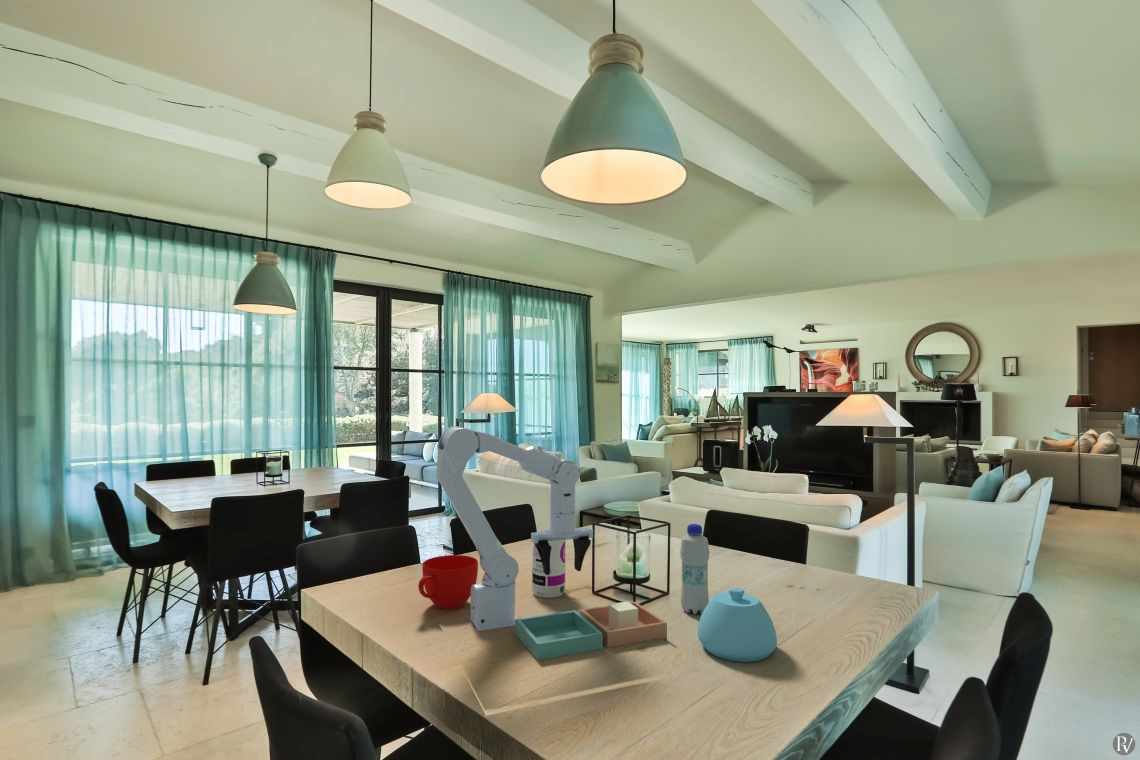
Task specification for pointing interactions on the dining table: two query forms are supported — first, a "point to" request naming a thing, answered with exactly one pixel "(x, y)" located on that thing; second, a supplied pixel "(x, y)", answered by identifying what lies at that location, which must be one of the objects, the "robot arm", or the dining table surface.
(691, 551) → the bottle
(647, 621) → the bin
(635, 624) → the cube
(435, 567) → the ceramic cup
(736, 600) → the sugar bowl
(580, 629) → the bin
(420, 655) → the dining table surface
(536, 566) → the supplement can
